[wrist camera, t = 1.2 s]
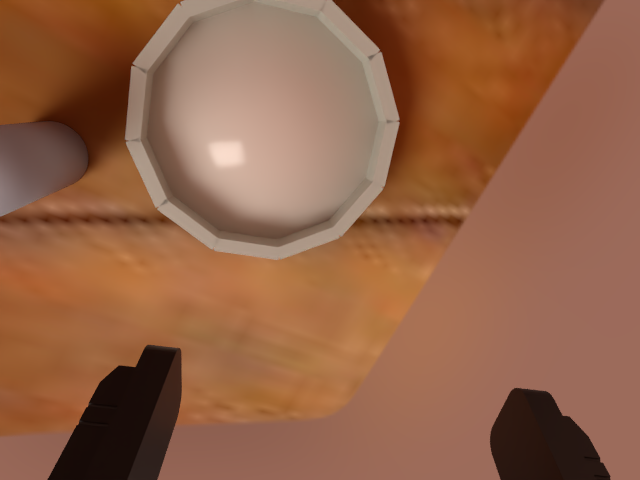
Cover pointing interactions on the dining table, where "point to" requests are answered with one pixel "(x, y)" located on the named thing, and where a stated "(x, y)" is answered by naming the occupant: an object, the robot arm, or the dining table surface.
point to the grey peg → (38, 161)
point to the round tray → (261, 123)
